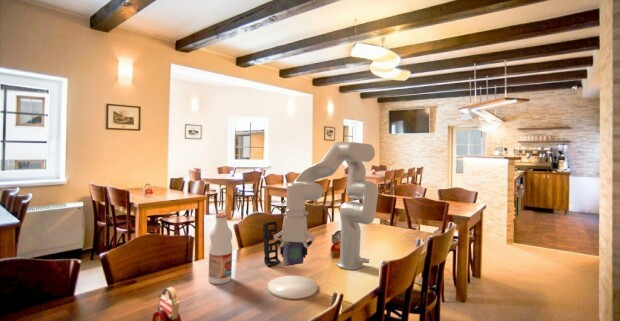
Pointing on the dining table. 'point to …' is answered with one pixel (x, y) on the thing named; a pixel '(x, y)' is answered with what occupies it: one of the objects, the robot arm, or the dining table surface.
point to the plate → (292, 287)
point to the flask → (293, 253)
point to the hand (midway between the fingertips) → (293, 256)
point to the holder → (266, 244)
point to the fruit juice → (220, 251)
